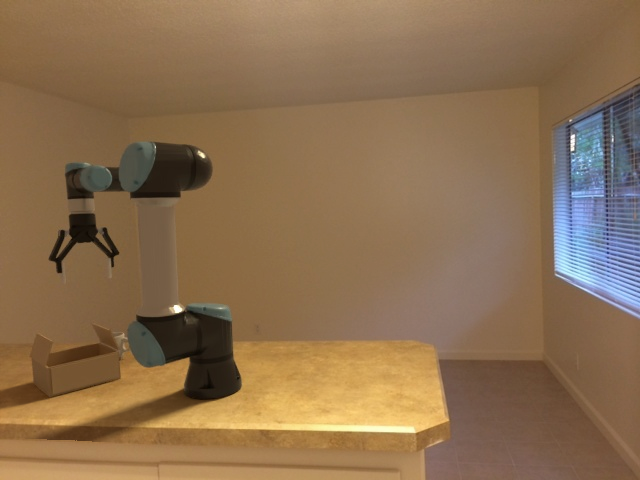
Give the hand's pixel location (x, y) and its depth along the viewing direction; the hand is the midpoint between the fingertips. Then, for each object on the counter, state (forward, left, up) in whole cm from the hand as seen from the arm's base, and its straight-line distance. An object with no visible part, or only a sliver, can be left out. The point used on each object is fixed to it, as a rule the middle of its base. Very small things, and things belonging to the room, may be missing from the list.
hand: (87, 280), depth 155 cm
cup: (+4, -9, -28) cm, 30 cm away
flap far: (-10, -2, -20) cm, 22 cm away
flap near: (-10, +18, -20) cm, 28 cm away
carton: (-10, +8, -28) cm, 30 cm away
